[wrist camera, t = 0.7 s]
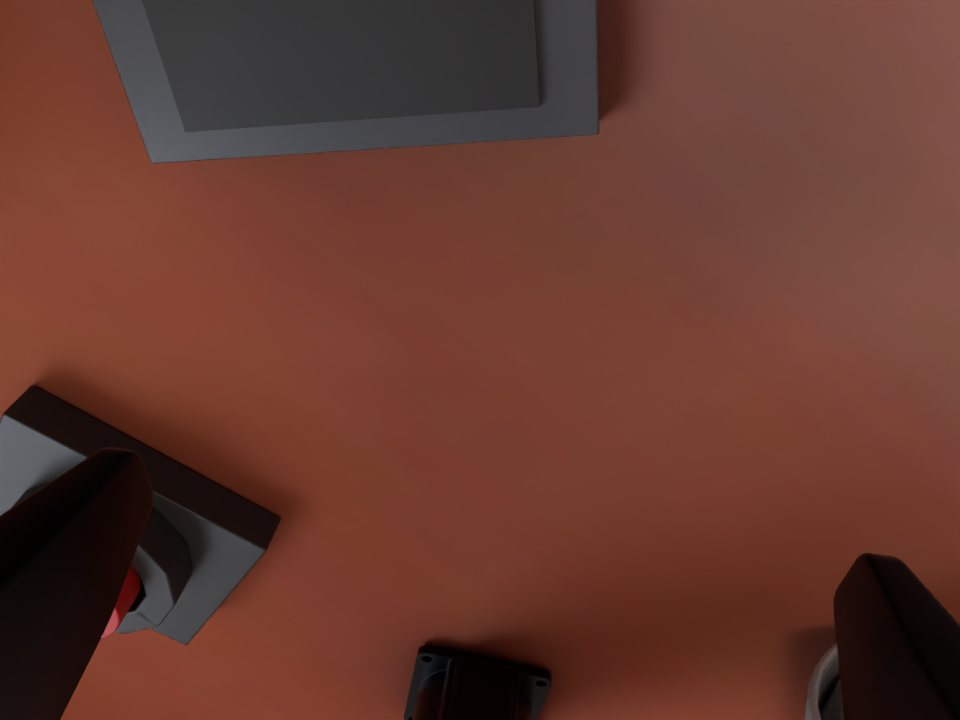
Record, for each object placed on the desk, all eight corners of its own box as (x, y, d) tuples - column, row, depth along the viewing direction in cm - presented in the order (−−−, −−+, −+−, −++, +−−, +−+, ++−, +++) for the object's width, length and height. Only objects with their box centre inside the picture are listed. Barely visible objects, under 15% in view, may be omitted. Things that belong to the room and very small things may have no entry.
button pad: (281, 518, 32) (251, 585, 29) (202, 614, 36) (169, 679, 34) (32, 383, 29) (-29, 443, 26) (-19, 506, 34) (-75, 568, 31)
